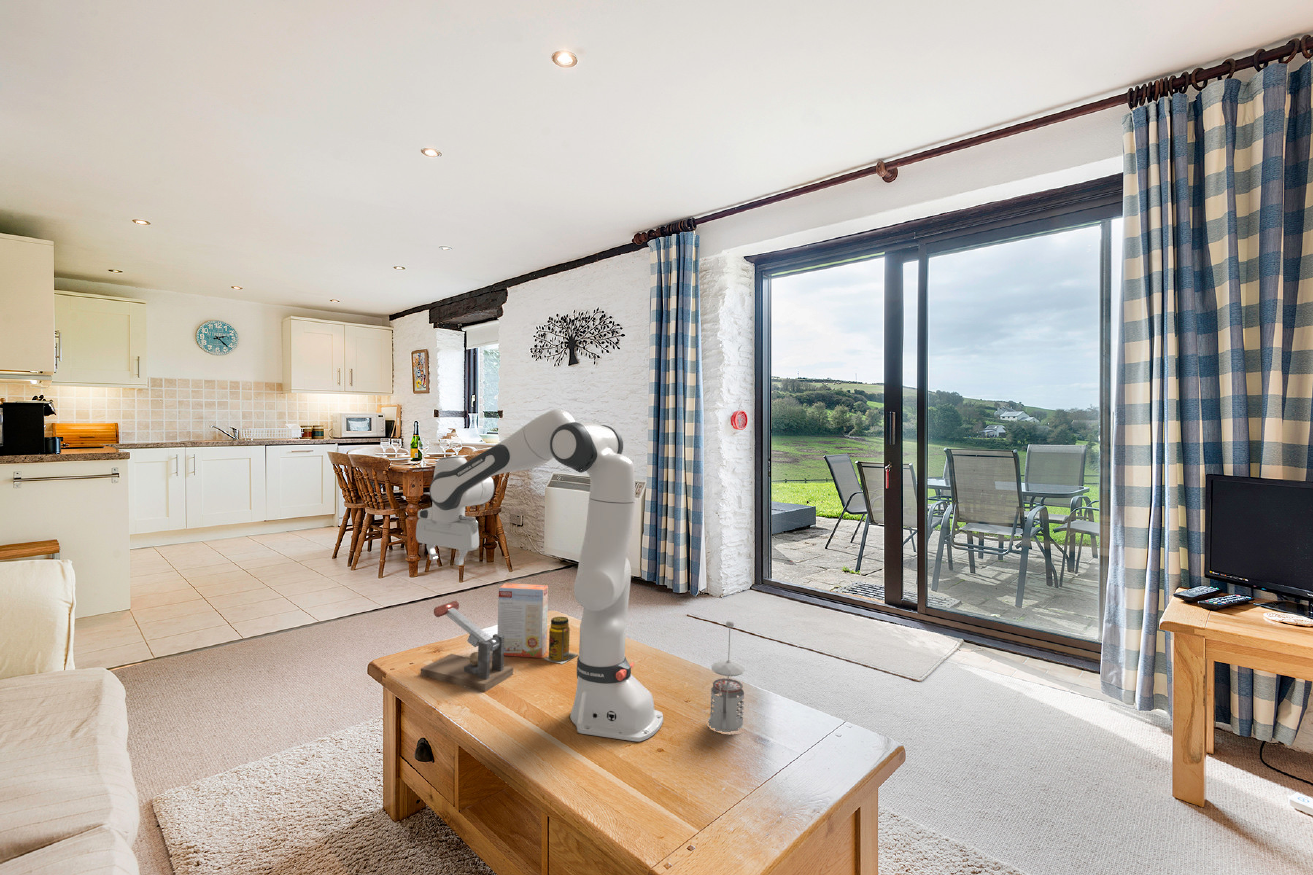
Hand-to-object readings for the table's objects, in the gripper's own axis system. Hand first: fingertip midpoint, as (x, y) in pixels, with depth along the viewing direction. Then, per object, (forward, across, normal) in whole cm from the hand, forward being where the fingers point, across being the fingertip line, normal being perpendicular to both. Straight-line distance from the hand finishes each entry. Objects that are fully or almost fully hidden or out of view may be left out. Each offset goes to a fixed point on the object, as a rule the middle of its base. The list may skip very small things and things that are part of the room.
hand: (446, 562), depth 168 cm
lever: (+19, -8, 0) cm, 21 cm away
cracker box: (+30, -13, -20) cm, 39 cm away
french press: (+29, -82, -6) cm, 87 cm away
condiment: (+30, -25, -24) cm, 46 cm away
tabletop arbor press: (+30, -9, 0) cm, 32 cm away
